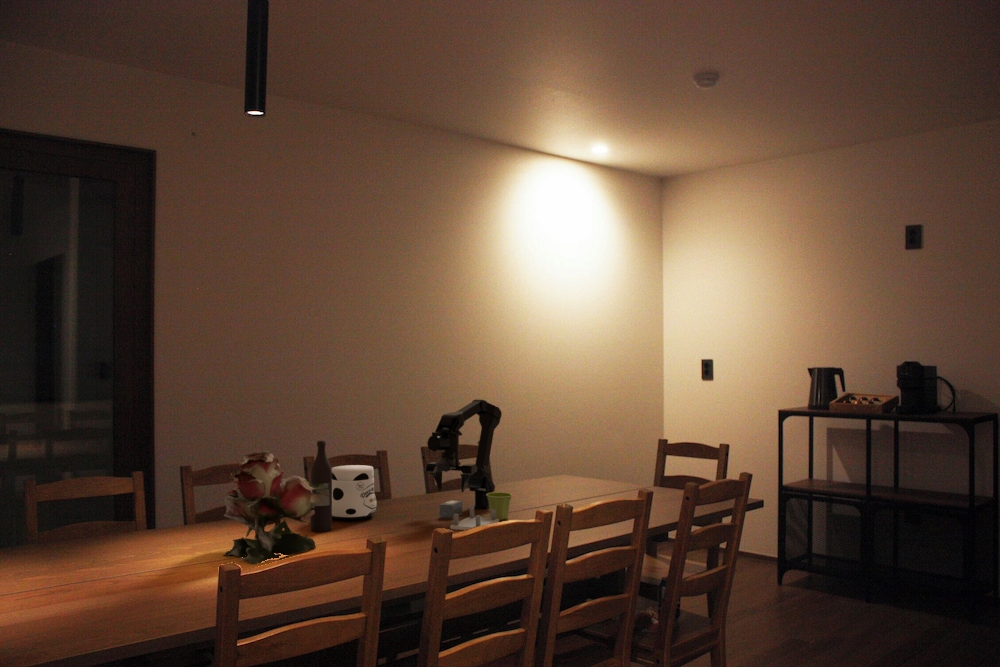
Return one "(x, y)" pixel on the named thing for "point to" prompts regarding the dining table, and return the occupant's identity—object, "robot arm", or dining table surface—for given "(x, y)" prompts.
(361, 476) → the milk container
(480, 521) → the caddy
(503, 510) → the plant pot
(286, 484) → the rose bouquet
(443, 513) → the grey rectangular block
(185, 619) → the dining table surface
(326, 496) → the wine bottle
